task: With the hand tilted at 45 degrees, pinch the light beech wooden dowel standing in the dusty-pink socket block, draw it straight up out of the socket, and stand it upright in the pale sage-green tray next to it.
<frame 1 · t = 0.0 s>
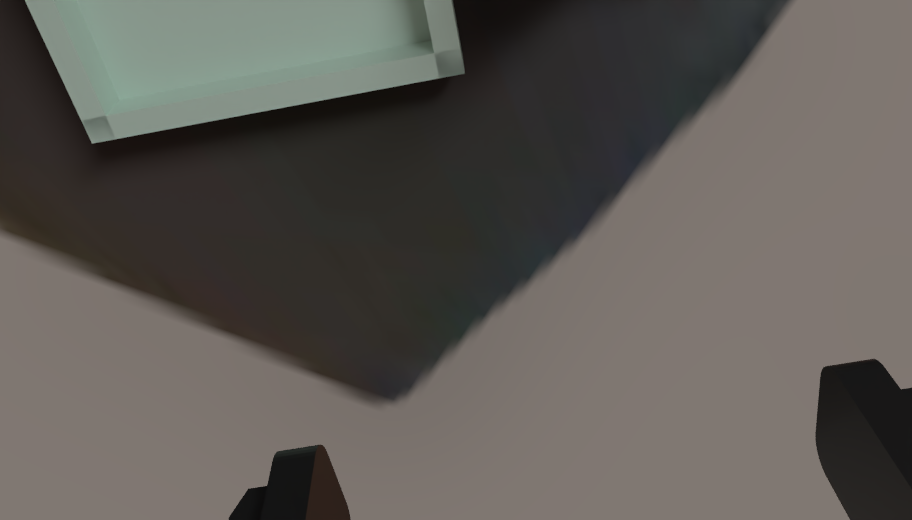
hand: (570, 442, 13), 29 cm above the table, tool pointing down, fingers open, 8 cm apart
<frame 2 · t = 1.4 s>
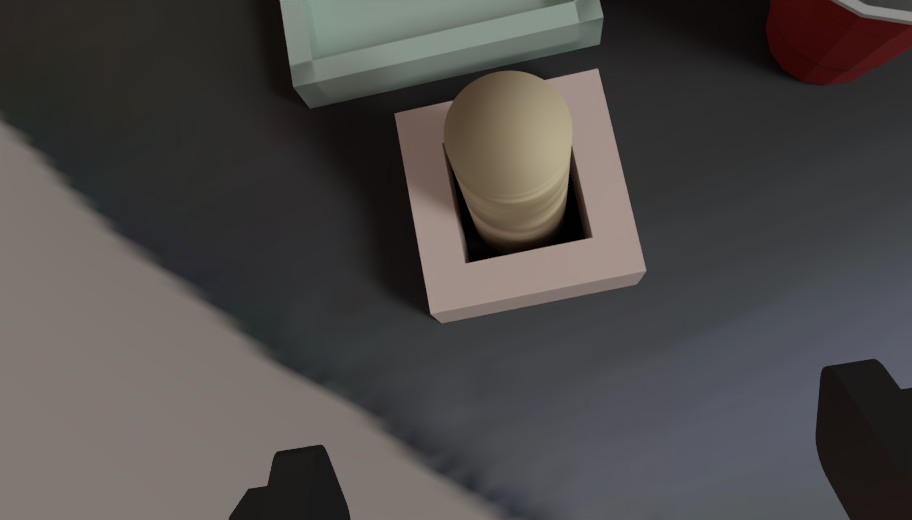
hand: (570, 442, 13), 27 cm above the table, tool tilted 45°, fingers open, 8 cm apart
socket block: (518, 210, 41), on the table
plastic cup: (817, 34, 42), on the table
dowel: (514, 177, 36), in the socket block
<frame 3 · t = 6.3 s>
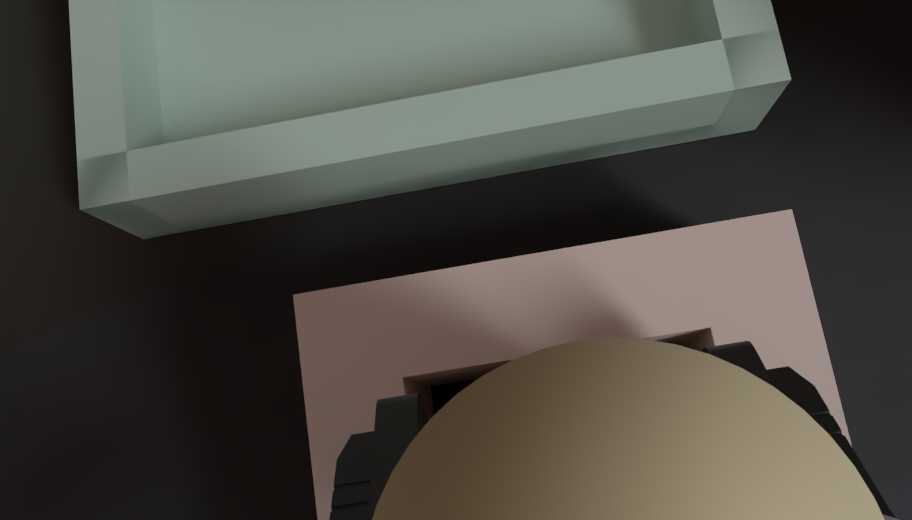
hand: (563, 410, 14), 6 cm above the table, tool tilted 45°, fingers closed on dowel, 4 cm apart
socket block: (574, 494, 19), on the table
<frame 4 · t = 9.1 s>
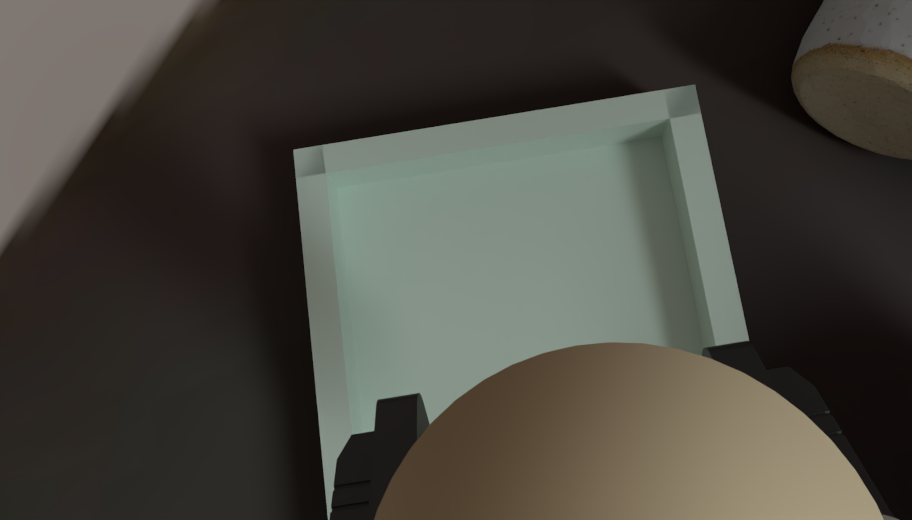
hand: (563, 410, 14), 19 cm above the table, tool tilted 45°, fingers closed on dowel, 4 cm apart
tray: (525, 351, 33), on the table
when the fingers open (8 cm above the table, at t = 12.0 s): dowel drops 1 cm, resting on tray.
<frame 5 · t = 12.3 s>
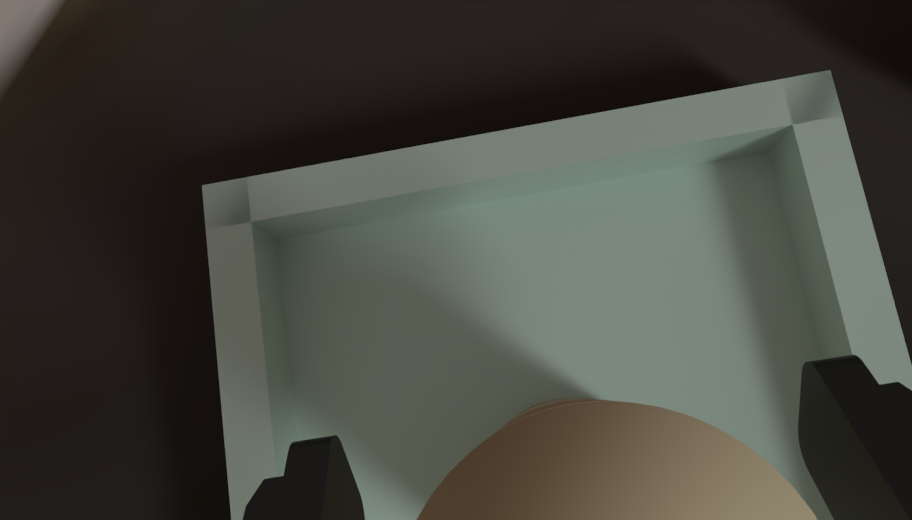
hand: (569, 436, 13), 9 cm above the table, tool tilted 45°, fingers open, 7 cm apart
tray: (568, 487, 21), on the table
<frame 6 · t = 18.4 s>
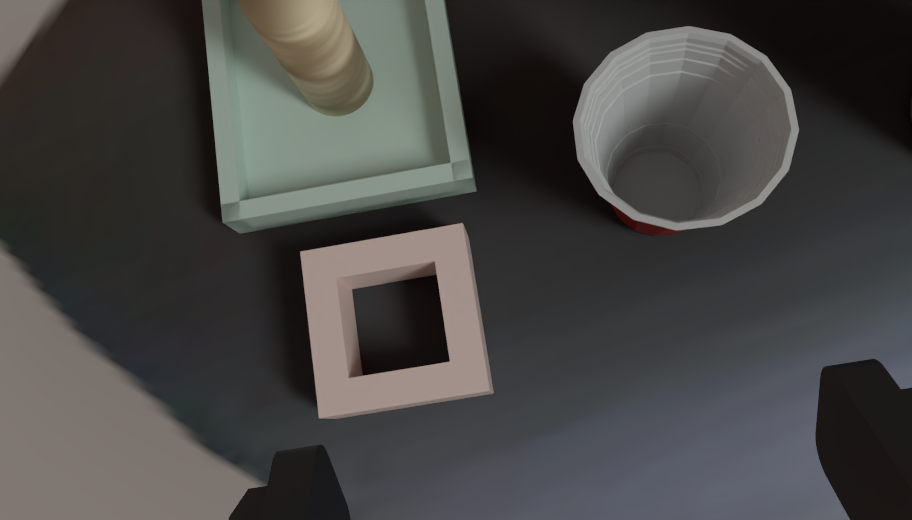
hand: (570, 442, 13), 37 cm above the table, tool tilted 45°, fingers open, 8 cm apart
tray: (340, 87, 55), on the table
socket block: (403, 327, 51), on the table
plastic cup: (651, 191, 51), on the table
dowel: (313, 40, 48), in the tray, point 7 cm above the table
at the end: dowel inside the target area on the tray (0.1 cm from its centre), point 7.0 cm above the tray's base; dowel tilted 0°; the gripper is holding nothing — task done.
